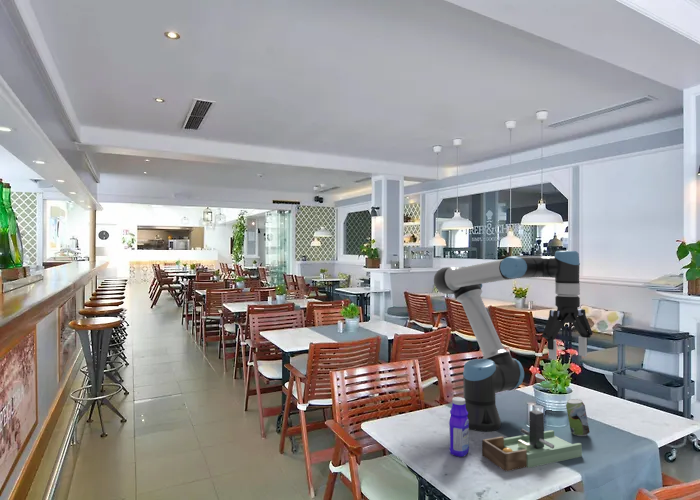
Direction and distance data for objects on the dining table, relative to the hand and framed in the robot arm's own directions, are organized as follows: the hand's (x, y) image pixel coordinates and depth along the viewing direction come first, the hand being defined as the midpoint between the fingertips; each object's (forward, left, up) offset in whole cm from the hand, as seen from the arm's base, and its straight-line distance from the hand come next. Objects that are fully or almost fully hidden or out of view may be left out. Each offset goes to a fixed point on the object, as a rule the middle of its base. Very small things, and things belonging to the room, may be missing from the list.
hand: (567, 357), depth 148 cm
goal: (-12, -28, -29) cm, 42 cm away
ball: (-12, -28, -28) cm, 41 cm away
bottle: (-25, -32, -29) cm, 50 cm away
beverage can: (+1, +9, -29) cm, 30 cm away
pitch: (-5, -16, -29) cm, 33 cm away
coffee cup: (-16, +36, -29) cm, 49 cm away
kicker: (-7, -19, -26) cm, 33 cm away
